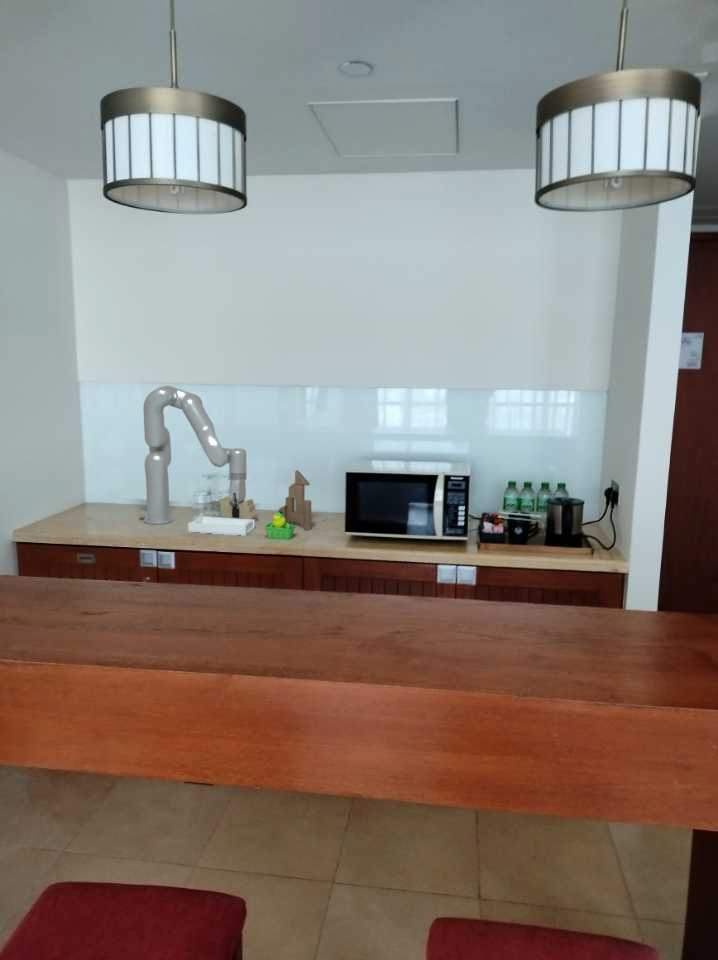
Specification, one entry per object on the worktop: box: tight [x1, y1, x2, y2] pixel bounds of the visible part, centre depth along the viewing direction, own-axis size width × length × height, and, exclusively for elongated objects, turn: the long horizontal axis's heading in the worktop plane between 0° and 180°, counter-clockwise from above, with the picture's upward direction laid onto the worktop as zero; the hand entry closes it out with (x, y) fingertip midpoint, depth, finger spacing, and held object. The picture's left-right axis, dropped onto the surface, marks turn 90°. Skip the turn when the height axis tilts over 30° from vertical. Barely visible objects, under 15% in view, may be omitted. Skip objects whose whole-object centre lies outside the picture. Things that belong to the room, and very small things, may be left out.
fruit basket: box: [264, 512, 296, 541], centre depth 281 cm, size 11×9×11 cm
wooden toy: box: [277, 469, 312, 531], centre depth 298 cm, size 16×7×25 cm, turn 72°
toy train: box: [218, 496, 259, 519], centre depth 308 cm, size 6×17×10 cm, turn 71°
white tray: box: [187, 515, 256, 537], centre depth 291 cm, size 25×13×4 cm, turn 81°
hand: (238, 515), depth 309 cm, fingers closed on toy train, 6 cm apart
